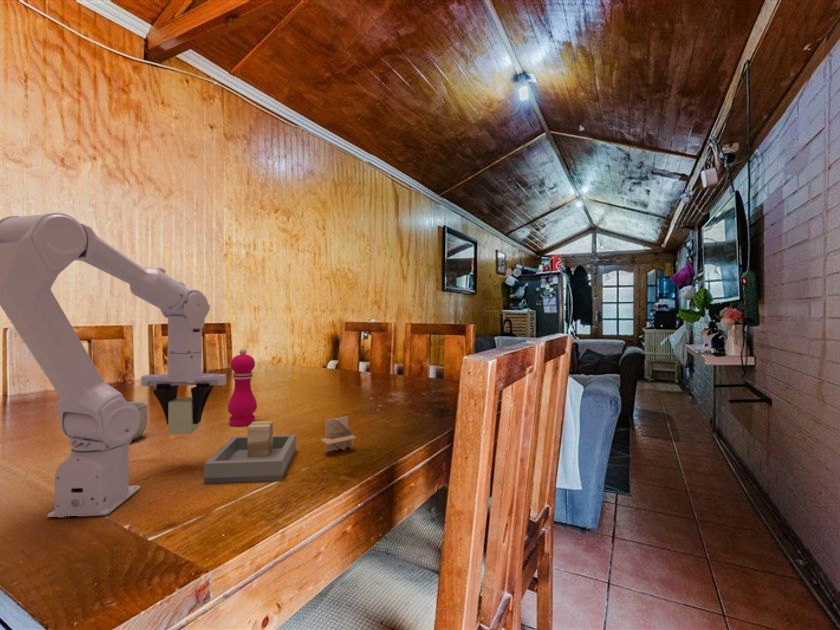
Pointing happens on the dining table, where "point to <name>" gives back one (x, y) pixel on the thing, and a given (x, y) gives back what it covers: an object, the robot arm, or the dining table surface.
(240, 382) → the pepper mill
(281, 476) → the tray
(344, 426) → the architectural model
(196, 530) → the dining table surface
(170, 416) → the sage block
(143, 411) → the teacup
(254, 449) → the brown metal block
